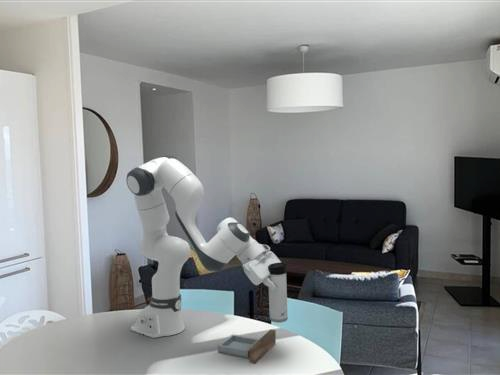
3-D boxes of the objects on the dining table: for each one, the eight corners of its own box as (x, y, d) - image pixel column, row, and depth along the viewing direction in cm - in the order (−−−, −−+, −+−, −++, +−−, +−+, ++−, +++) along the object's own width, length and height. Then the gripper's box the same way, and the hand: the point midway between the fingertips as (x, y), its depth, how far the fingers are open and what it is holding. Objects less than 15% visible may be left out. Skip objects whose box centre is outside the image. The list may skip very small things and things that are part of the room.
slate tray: (217, 352, 159) (217, 345, 158) (232, 340, 168) (232, 334, 168) (247, 358, 153) (247, 351, 153) (260, 346, 163) (260, 339, 163)
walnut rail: (249, 362, 150) (249, 348, 150) (270, 342, 166) (270, 329, 166) (255, 363, 149) (254, 349, 149) (275, 343, 165) (275, 330, 165)
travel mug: (287, 323, 151) (286, 265, 149) (268, 322, 152) (266, 265, 150) (289, 316, 157) (287, 260, 155) (270, 315, 158) (268, 260, 156)
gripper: (245, 256, 146) (274, 288, 143) (269, 244, 165) (295, 272, 161) (234, 268, 148) (261, 300, 145) (258, 255, 167) (283, 283, 163)
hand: (279, 285), depth 153 cm, fingers closed on travel mug, 6 cm apart
